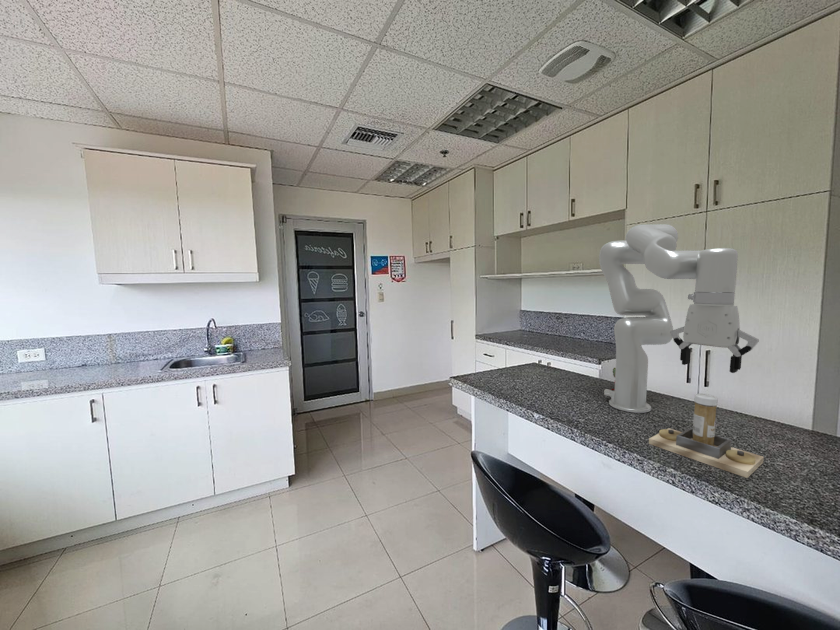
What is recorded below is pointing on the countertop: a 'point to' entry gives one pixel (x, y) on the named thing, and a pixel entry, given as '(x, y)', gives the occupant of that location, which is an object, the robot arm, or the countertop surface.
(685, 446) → the board
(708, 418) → the sprinkles bottle
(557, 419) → the countertop surface
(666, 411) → the countertop surface
